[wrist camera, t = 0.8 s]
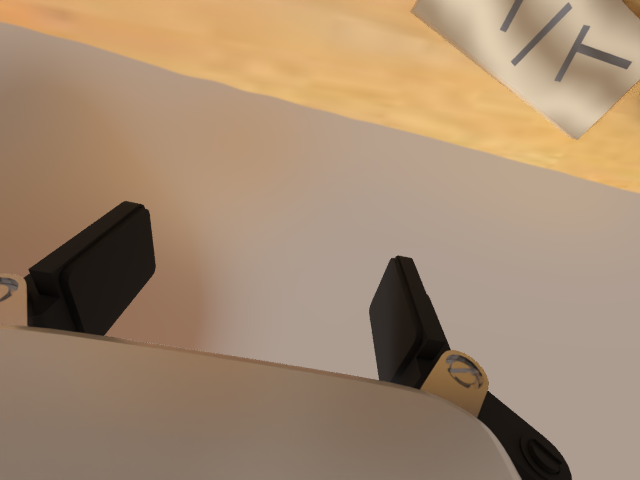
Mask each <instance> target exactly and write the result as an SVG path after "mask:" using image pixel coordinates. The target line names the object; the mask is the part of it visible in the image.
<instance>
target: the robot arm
mask: <svg viewBox="0 0 640 480" xmlns="http://www.w3.org/2000/svg"><path fill="white" fill-rule="evenodd" d="M155 267H156V265H155V256H154V247H153V239H152V230H151V222H150V214H149V211H148V210H147V209H145V207H144V205H142V204H138V203H133V202H128V201H124V202H122V203H121V204H120V205H118V206H117V207H115V208H114V209H112V210H111V211H110V212H108V213H107V214H105V215H104V216H103V217H101V218H100V219H98V220H97V221H96V222H94V223H93V224H91V225H90V226H88V227H87V228H86V229H84V230H83V231H81V232H80V233H79V234H77V235H76V236H74V237H73V238H72V239H70V240H69V241H67V242H66V243H65V244H63V245H62V246H60V247H59V248H58V249H56V250H55V251H53V252H52V253H51V254H49V255H48V256H46V257H45V258H44V259H42V260H41V261H39V262H38V263H37V264H35V265H34V266H32V267H31V268H30V269H29V272H30V274H28V275H27V276H26V277H24V278H22V277H20V276H18V275H14V274H0V480H572V477H571V473H570V470H569V467H568V465H567V463H566V461H565V460H564V458H563V456H562V455H561V454H560V452H559V451H558V450H557V449H556V447H555V446H554V445H552V443H551V442H550V441H548V440H547V439H546V438H545V437H544V436H543V435H541V434H540V433H539V432H538V431H536V430H535V429H534V428H533V427H532V426H530V425H529V424H528V423H527V422H525V421H524V420H523V419H522V418H520V417H519V416H518V415H517V414H516V413H514V412H513V411H512V410H511V409H509V408H508V407H507V406H506V405H505V404H503V403H502V402H501V401H500V400H498V399H497V398H496V397H495V396H494V395H492V394H491V393H490V392H489V391H487V390H488V385H489V382H488V378H487V375H486V373H485V372H484V370H483V369H482V367H481V366H480V365H479V364H478V363H477V362H476V361H475V360H474V359H473V358H471V357H470V356H468V355H466V354H465V353H462V352H459V351H455V350H451V349H450V347H449V344H448V342H447V339H446V337H445V335H444V332H443V330H442V327H441V325H440V322H439V320H438V317H437V315H436V313H435V310H434V307H433V305H432V303H431V300H430V298H429V296H428V295H427V294H426V291H425V289H424V286H423V284H422V281H421V279H420V276H419V274H418V271H417V269H416V266H415V264H414V262H413V259H412V258H408V257H403V256H396V257H395V258H391V259H390V262H389V264H388V266H387V268H386V270H385V273H384V275H383V277H382V280H381V282H380V284H379V287H378V289H377V291H376V293H375V296H374V298H373V300H372V302H371V305H370V309H369V314H370V322H371V328H372V334H373V342H374V348H375V355H376V362H377V369H378V375H379V380H375V379H369V378H363V377H358V376H353V375H347V374H341V373H335V372H329V371H323V370H317V369H311V368H305V367H299V366H292V365H287V364H281V363H274V362H268V361H262V360H256V359H249V358H243V357H237V356H230V355H224V354H218V353H212V352H205V351H198V350H192V349H186V348H179V347H173V346H166V345H160V344H153V343H147V342H141V341H134V340H127V339H121V338H114V337H108V336H104V335H105V334H106V333H107V331H108V330H109V329H110V328H111V326H112V325H113V324H114V323H115V321H116V320H117V319H118V318H119V316H120V315H121V314H122V313H123V311H124V310H125V309H126V308H127V306H128V305H129V304H130V303H131V302H132V300H133V299H134V298H135V297H136V295H137V294H138V293H139V292H140V290H141V289H142V288H143V287H144V285H145V284H146V283H147V282H148V280H149V279H150V278H151V277H152V275H153V274H154V272H155Z"/></svg>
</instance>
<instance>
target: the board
mask: <svg viewBox="0 0 640 480" xmlns="http://www.w3.org/2000/svg"><path fill="white" fill-rule="evenodd" d="M411 13H413V14H414V15H415V16H417V17H418V18H419V19H420V20H422V21H423V22H424V23H425V24H427V25H428V26H429V27H430V28H432V29H433V30H434V31H435V32H437V33H438V34H439V35H440V36H442V37H443V38H444V39H446V40H447V41H448V42H449V43H451V44H452V45H453V46H454V47H456V48H457V49H458V50H459V51H461V52H462V53H463V54H464V55H466V56H467V57H468V58H470V59H471V60H472V61H473V62H475V63H476V64H477V65H478V66H480V67H481V68H482V69H483V70H485V71H486V72H487V73H488V74H490V75H491V76H492V77H493V78H495V79H496V80H497V81H499V82H500V83H501V84H502V85H504V86H505V87H506V88H507V89H509V90H510V91H511V92H512V93H514V94H515V95H516V96H517V97H519V98H520V99H521V100H522V101H524V102H525V103H526V104H528V105H529V106H530V107H531V108H533V109H534V110H535V111H536V112H538V113H539V114H540V115H541V116H543V117H544V118H545V119H546V120H548V121H549V122H550V123H551V124H553V125H554V126H555V127H557V128H558V129H559V130H560V131H562V132H563V133H564V134H565V135H567V136H568V137H570V138H573V139H576V140H578V139H579V138H580V137H581V136H582V135H583V134H584V133H585V132H586V131H587V130H588V129H589V128H590V127H591V126H592V125H593V124H594V123H595V122H596V121H597V120H598V119H599V118H600V117H602V116H603V115H604V114H605V113H606V112H607V111H608V110H609V109H610V108H611V107H612V106H613V105H614V104H615V103H616V102H617V101H618V100H619V99H620V98H621V97H622V96H623V95H624V94H625V93H626V92H627V91H628V90H629V89H630V88H631V87H632V86H633V85H634V84H635V83H637V82H638V81H639V80H640V19H639V18H638V17H637V16H636V15H635V14H634V13H633V12H632V11H631V10H630V9H629V8H628V7H627V6H626V4H625V3H624V2H623V1H622V0H417V2H416V3H415V5H414V7H413V9H412V10H411Z"/></svg>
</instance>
